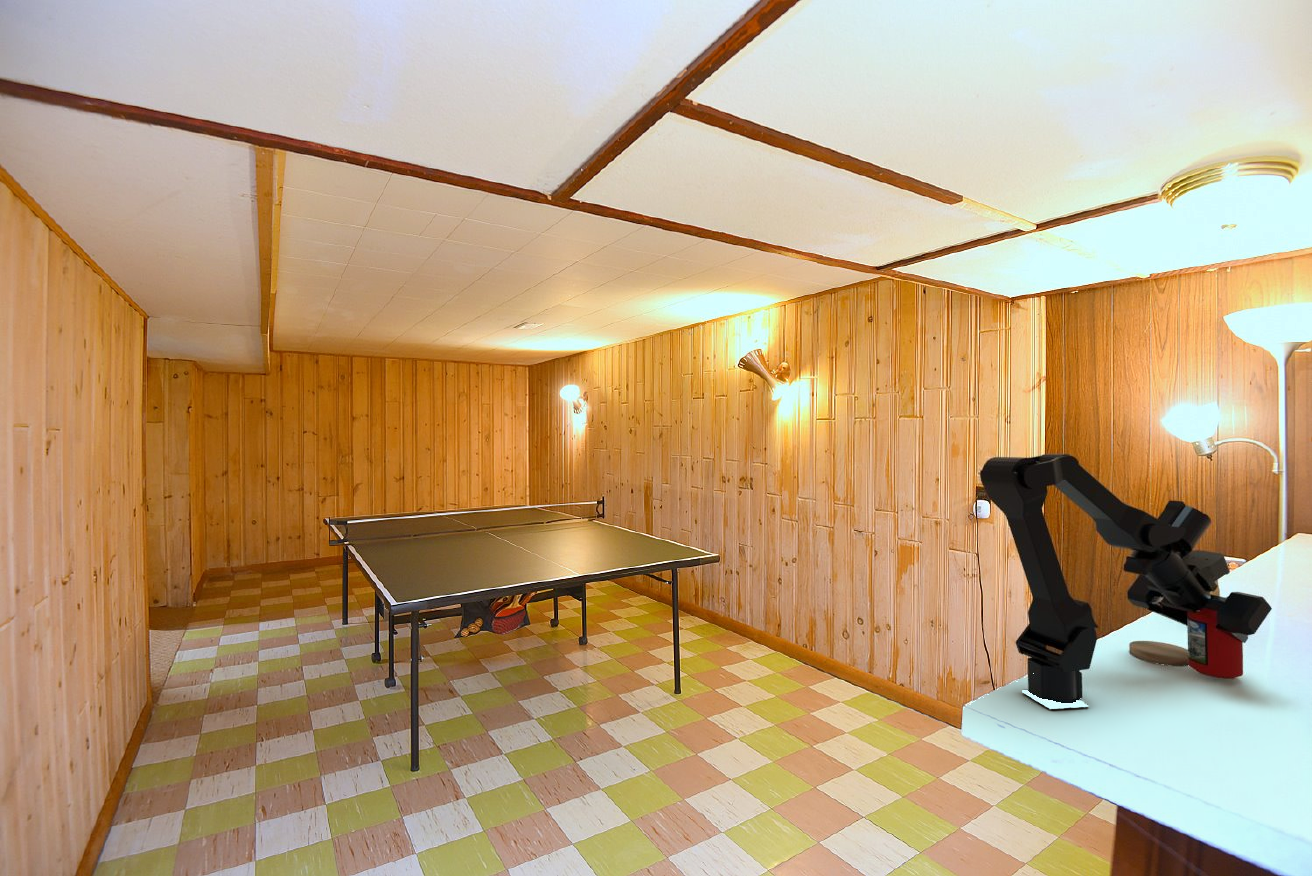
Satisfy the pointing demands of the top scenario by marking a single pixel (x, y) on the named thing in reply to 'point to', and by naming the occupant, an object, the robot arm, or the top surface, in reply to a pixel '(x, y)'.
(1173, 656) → the coaster
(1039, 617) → the robot arm
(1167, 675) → the top surface
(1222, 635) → the beverage can
